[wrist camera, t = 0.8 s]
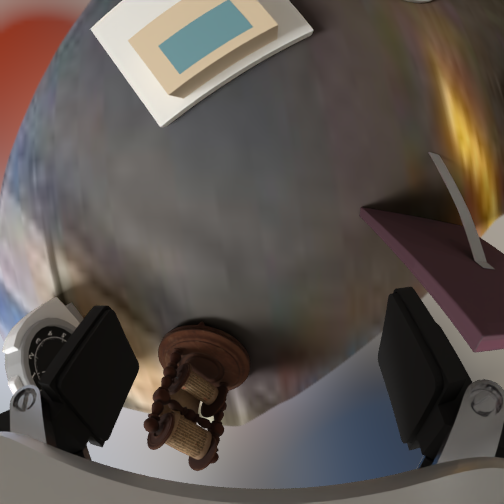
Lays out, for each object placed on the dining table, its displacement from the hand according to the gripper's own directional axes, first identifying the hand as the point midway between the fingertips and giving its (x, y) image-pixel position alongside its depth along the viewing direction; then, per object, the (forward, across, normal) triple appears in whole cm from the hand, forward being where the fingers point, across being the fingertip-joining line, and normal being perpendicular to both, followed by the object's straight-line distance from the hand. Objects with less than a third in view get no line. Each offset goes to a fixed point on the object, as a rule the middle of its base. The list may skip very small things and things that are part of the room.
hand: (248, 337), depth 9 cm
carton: (+25, +4, -17) cm, 30 cm away
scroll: (+26, +13, +27) cm, 40 cm away
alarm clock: (+26, +36, +22) cm, 50 cm away
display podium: (+27, +6, -20) cm, 34 cm away
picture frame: (+27, -20, +2) cm, 34 cm away
